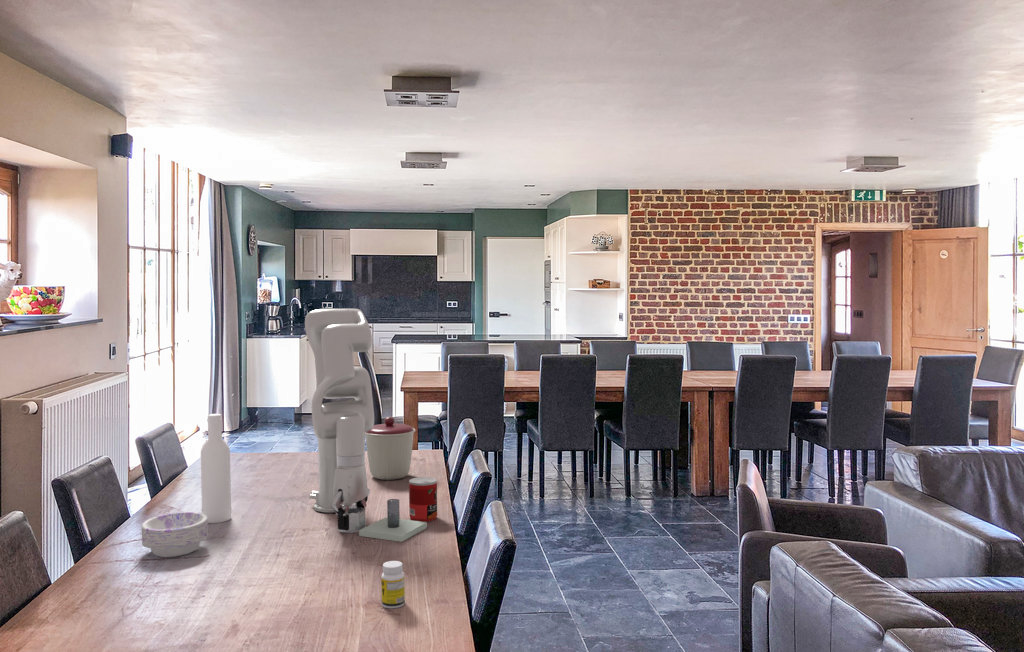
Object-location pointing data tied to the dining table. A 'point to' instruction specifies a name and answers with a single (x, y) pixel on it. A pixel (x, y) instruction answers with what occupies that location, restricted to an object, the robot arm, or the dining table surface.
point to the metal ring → (355, 519)
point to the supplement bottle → (393, 585)
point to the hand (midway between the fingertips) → (351, 525)
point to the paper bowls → (174, 533)
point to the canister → (389, 449)
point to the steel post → (393, 513)
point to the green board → (393, 530)
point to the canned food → (423, 499)
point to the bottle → (215, 473)
